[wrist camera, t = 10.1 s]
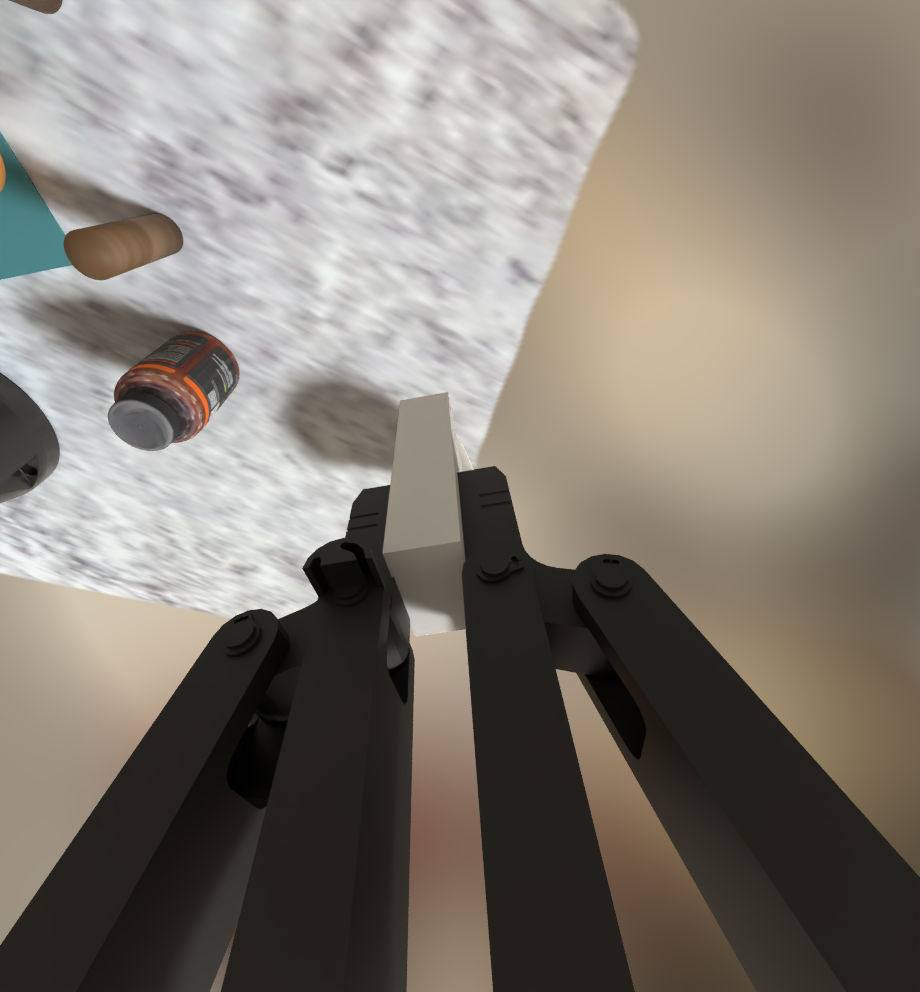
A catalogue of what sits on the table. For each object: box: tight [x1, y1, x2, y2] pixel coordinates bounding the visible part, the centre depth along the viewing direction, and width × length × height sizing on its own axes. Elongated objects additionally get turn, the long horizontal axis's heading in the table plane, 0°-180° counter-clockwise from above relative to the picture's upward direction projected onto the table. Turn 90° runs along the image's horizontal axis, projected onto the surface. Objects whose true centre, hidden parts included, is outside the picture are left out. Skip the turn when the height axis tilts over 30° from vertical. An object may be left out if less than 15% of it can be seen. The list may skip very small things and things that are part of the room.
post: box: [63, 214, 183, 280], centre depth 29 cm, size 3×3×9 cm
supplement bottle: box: [108, 332, 239, 451], centre depth 34 cm, size 6×6×11 cm
